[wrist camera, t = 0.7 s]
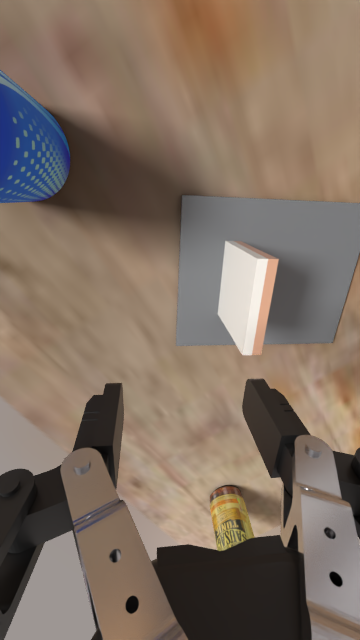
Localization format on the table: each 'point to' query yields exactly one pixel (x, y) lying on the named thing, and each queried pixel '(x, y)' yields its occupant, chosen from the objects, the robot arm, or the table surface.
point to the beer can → (29, 147)
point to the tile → (246, 294)
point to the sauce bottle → (229, 517)
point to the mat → (292, 271)
